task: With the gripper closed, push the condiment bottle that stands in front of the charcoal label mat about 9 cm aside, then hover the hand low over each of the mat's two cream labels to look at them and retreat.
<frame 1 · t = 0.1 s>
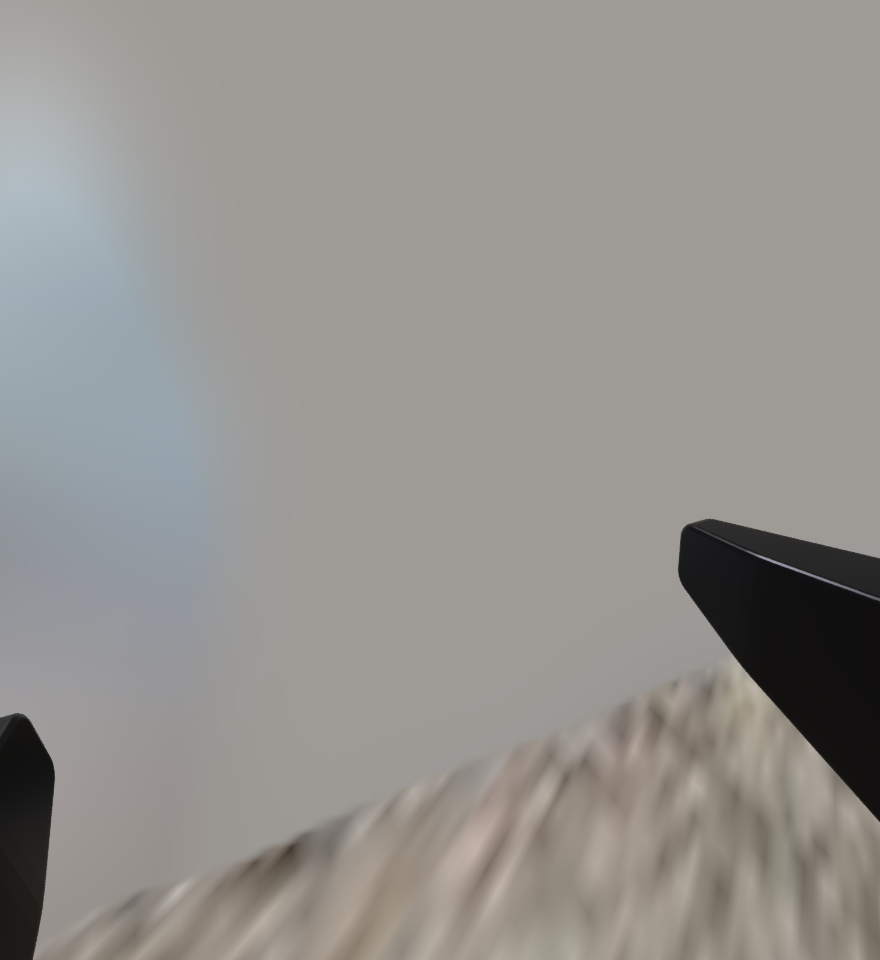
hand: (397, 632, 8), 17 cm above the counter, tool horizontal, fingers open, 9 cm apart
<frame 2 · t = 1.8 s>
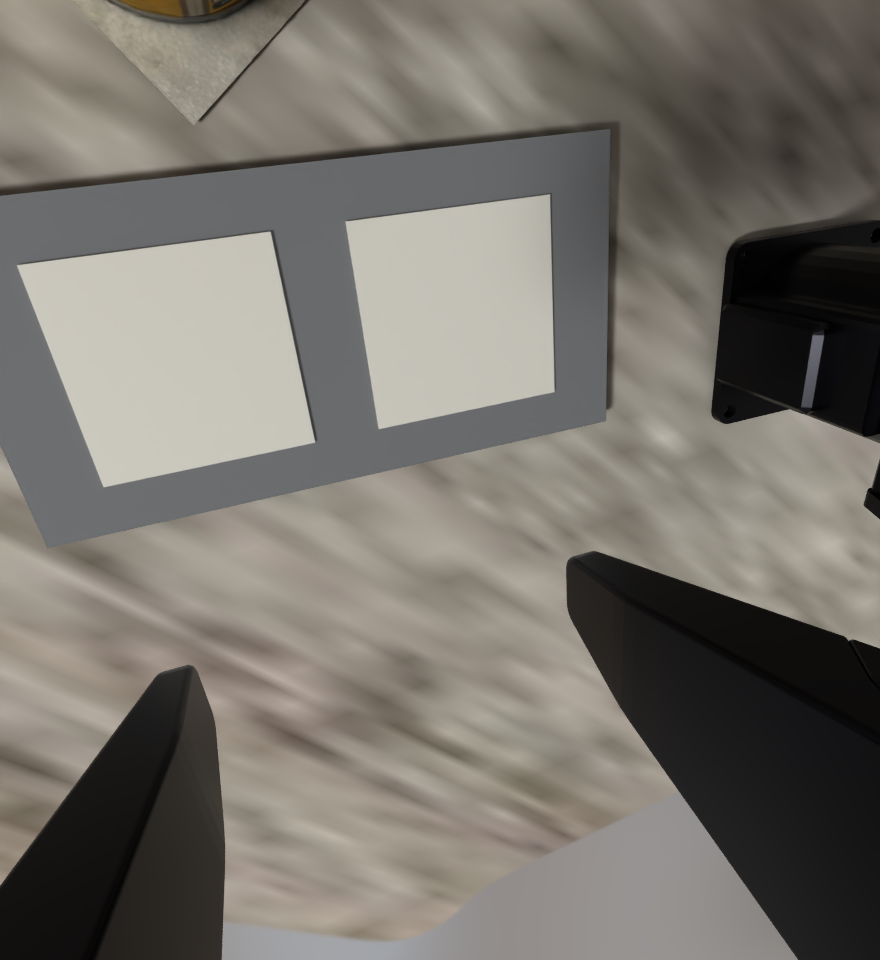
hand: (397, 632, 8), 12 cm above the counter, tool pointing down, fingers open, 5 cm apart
label mat: (326, 334, 18), on the counter
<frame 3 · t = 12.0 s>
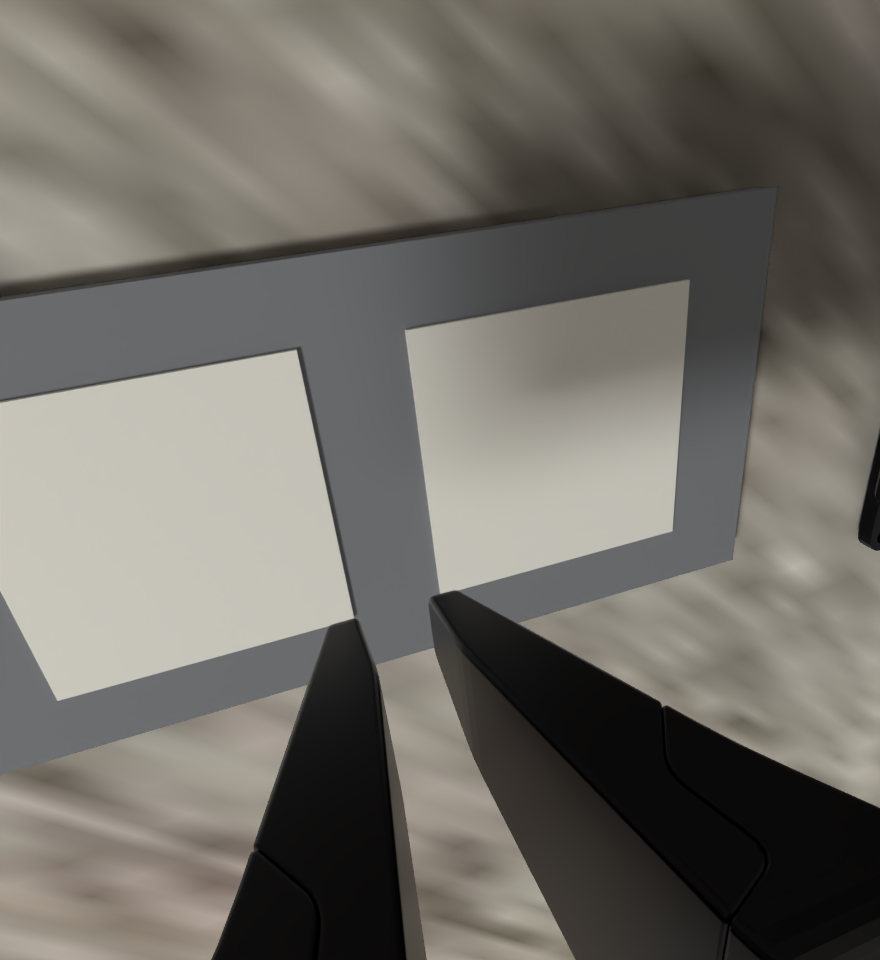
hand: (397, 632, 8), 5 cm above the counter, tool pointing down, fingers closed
label mat: (371, 474, 13), on the counter
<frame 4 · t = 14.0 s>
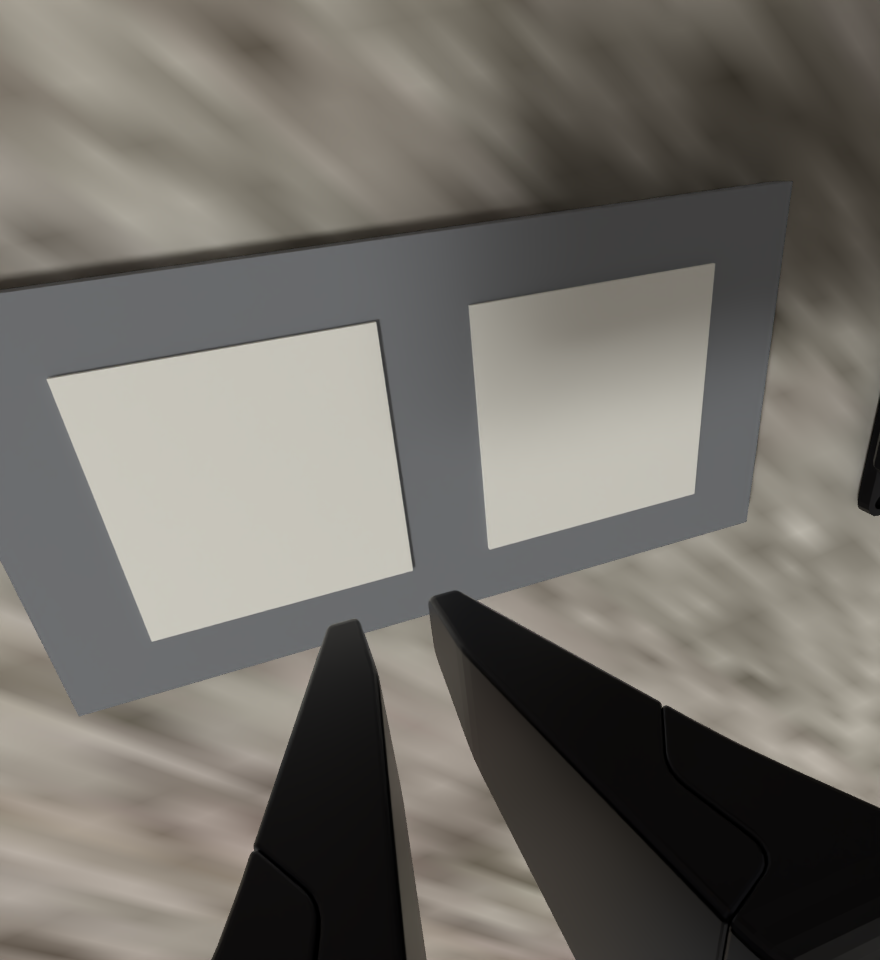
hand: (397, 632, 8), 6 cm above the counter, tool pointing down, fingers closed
label mat: (430, 438, 15), on the counter
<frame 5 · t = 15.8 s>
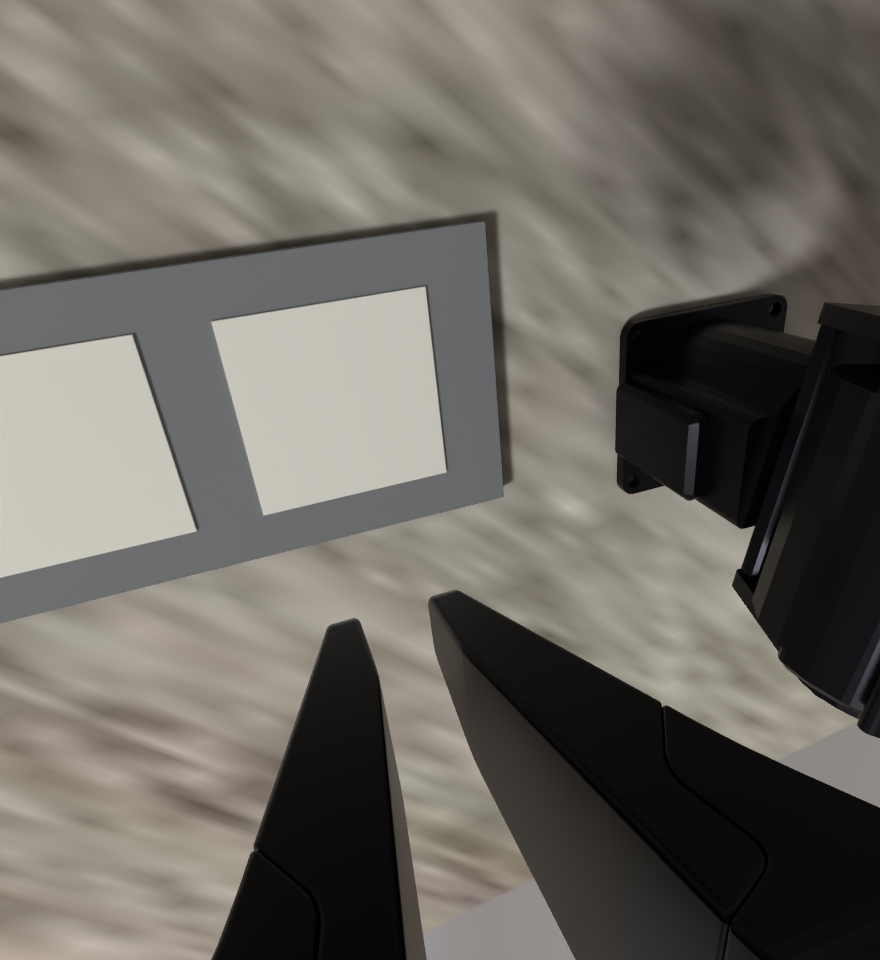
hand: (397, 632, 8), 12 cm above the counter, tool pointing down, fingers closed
label mat: (204, 425, 18), on the counter
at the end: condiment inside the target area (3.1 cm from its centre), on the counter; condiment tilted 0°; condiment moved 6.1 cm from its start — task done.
